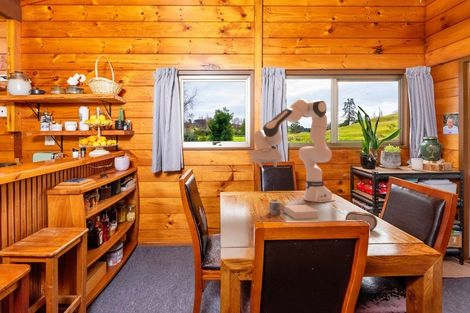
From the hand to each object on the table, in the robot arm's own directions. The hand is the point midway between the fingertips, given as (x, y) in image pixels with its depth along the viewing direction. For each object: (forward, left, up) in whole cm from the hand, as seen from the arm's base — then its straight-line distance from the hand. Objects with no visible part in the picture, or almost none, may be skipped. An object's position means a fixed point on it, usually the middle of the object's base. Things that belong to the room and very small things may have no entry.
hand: (268, 166), depth 198 cm
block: (0, +12, -27) cm, 30 cm away
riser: (-14, +18, -27) cm, 36 cm away
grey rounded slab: (-32, +50, -28) cm, 66 cm away
